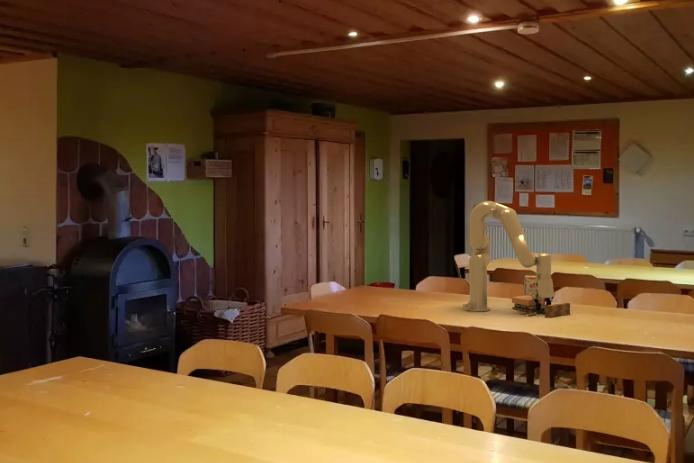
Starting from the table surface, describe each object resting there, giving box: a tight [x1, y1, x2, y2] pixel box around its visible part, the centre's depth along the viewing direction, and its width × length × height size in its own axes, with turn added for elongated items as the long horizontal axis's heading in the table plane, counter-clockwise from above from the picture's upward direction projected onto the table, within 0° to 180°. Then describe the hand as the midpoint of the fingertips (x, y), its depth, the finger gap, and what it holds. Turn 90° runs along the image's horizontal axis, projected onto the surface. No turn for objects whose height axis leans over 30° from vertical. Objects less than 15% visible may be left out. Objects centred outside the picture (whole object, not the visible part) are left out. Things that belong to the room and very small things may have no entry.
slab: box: [511, 295, 544, 306], centre depth 392 cm, size 11×13×3 cm
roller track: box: [511, 303, 545, 316], centre depth 387 cm, size 9×25×4 cm, turn 30°
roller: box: [535, 303, 548, 313], centre depth 382 cm, size 7×3×3 cm, turn 119°
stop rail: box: [544, 302, 571, 319], centre depth 373 cm, size 16×2×6 cm, turn 120°
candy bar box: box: [523, 275, 546, 305], centre depth 407 cm, size 11×5×16 cm, turn 84°
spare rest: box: [520, 311, 537, 318], centre depth 377 cm, size 5×6×1 cm
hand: (543, 309), depth 382 cm, fingers closed on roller, 6 cm apart
